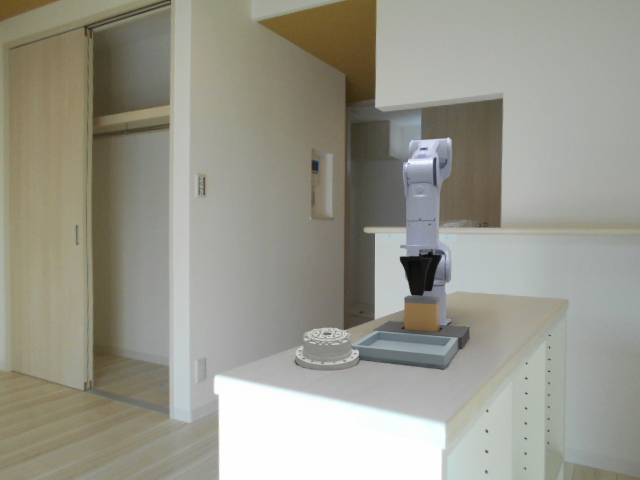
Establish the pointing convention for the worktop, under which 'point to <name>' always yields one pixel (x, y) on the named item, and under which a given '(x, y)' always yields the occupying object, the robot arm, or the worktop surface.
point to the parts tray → (407, 349)
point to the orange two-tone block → (422, 313)
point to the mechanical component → (327, 350)
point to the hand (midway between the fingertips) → (421, 293)
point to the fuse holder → (445, 331)
